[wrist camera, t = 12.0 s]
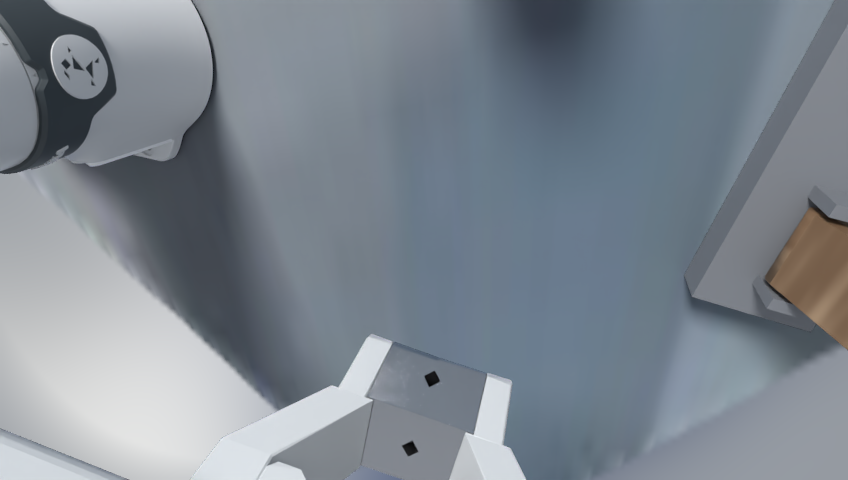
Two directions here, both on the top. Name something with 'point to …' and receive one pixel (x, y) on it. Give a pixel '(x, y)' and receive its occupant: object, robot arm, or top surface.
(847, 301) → the walnut lever
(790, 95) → the plinth
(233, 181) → the top surface
